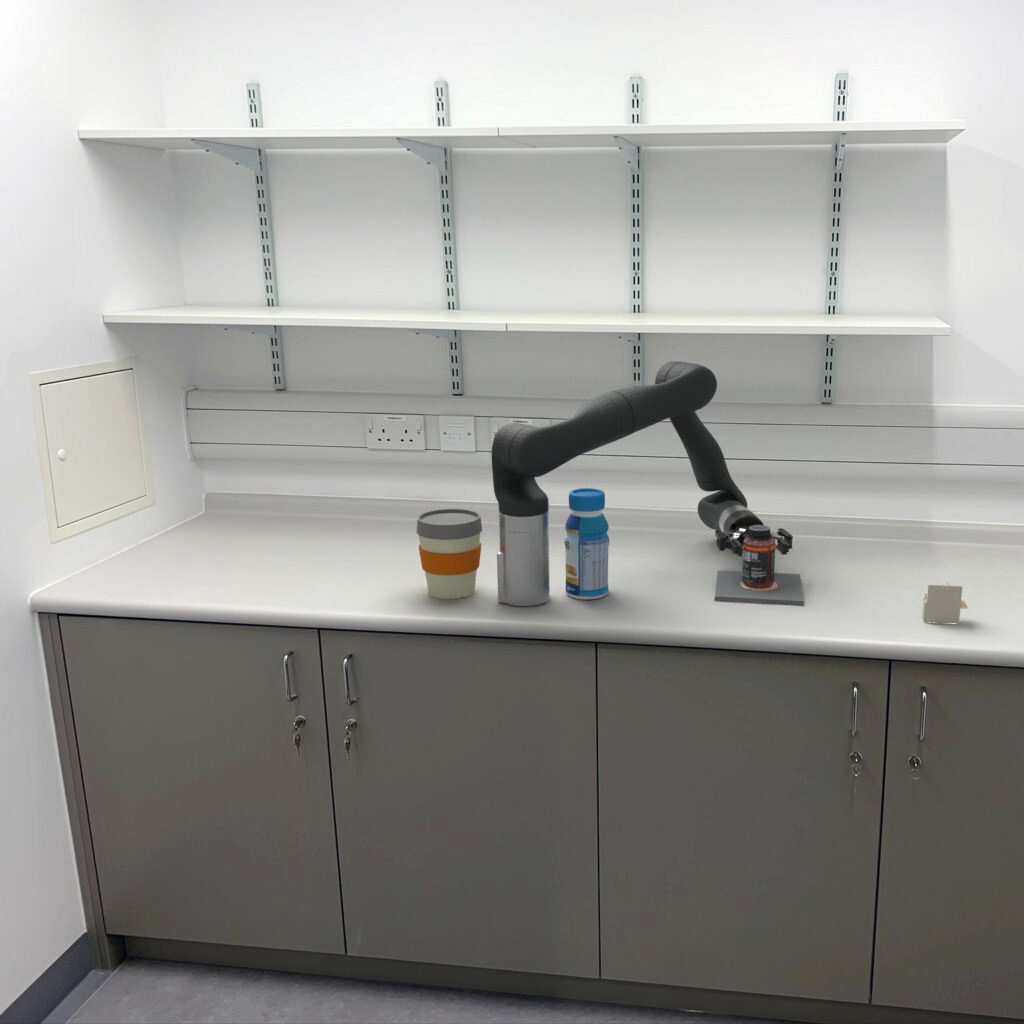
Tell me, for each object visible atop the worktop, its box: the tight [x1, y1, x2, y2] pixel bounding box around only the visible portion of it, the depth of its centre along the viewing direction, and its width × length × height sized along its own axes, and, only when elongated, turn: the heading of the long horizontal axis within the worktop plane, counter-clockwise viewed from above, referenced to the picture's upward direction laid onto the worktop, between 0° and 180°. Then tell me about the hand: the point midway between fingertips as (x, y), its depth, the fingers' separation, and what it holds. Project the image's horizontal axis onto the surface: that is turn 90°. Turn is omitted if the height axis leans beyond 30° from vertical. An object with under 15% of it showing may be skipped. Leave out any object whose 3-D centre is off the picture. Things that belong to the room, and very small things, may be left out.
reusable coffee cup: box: [416, 508, 483, 600], centre depth 201 cm, size 13×13×15 cm
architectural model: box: [921, 582, 968, 625], centre depth 182 cm, size 3×7×7 cm, turn 79°
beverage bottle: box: [563, 487, 610, 601], centre depth 198 cm, size 8×8×20 cm
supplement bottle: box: [742, 524, 776, 588], centre depth 200 cm, size 6×6×11 cm
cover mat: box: [714, 569, 805, 606], centre depth 201 cm, size 16×16×1 cm
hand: (762, 550), depth 197 cm, fingers open, 8 cm apart
